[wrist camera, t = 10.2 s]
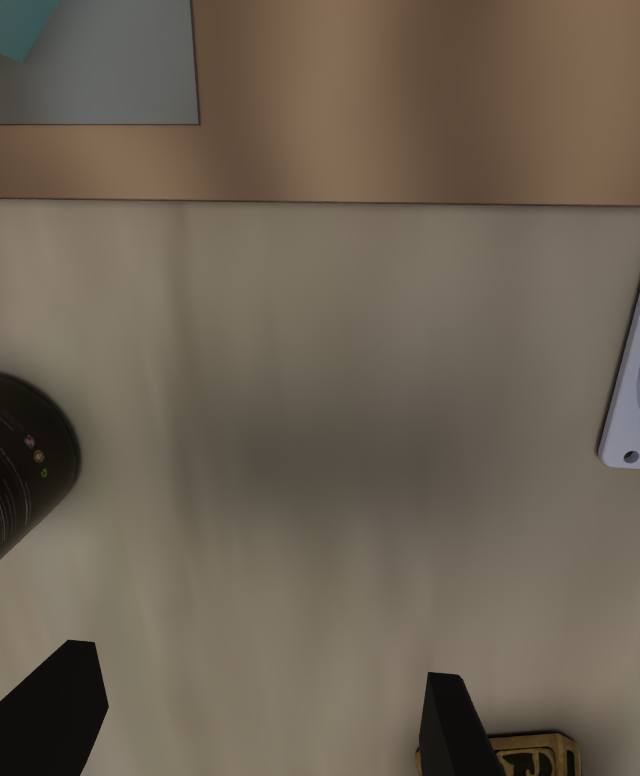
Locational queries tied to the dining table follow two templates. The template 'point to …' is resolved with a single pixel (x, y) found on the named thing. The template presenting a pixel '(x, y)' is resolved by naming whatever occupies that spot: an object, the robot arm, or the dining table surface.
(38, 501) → the supplement bottle
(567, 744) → the ornate bronze statue
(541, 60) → the board
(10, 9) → the teal cube crate
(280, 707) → the dining table surface
